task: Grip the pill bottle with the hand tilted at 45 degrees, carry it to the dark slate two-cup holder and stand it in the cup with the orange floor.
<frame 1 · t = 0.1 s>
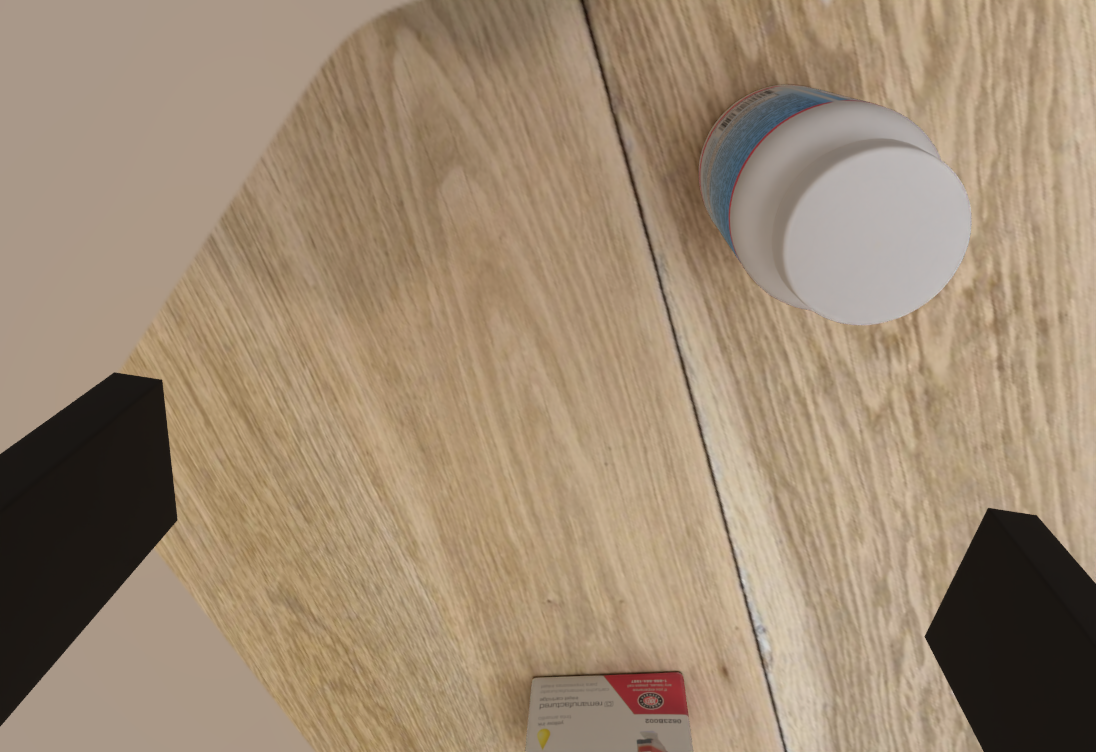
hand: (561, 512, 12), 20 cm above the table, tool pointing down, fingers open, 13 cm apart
pill bottle: (774, 165, 29), on the table
ink box: (609, 700, 42), on the table
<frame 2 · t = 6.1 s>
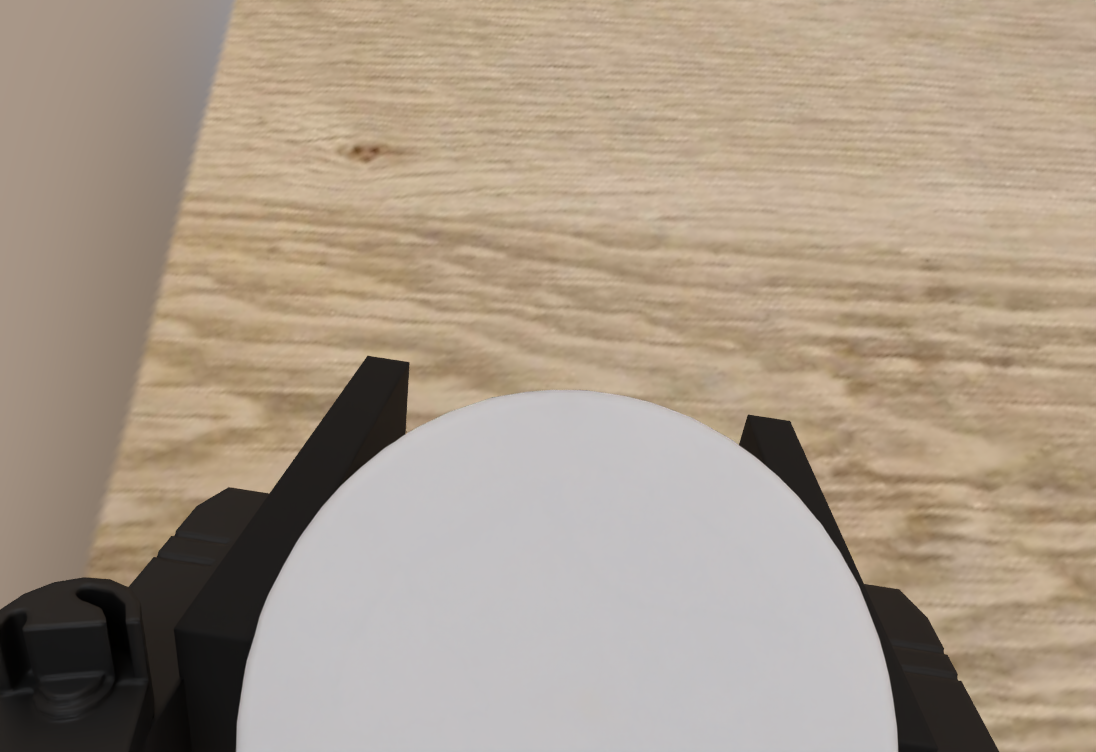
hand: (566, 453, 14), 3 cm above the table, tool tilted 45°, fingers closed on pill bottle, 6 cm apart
pill bottle: (532, 653, 16), on the table, touching gripper
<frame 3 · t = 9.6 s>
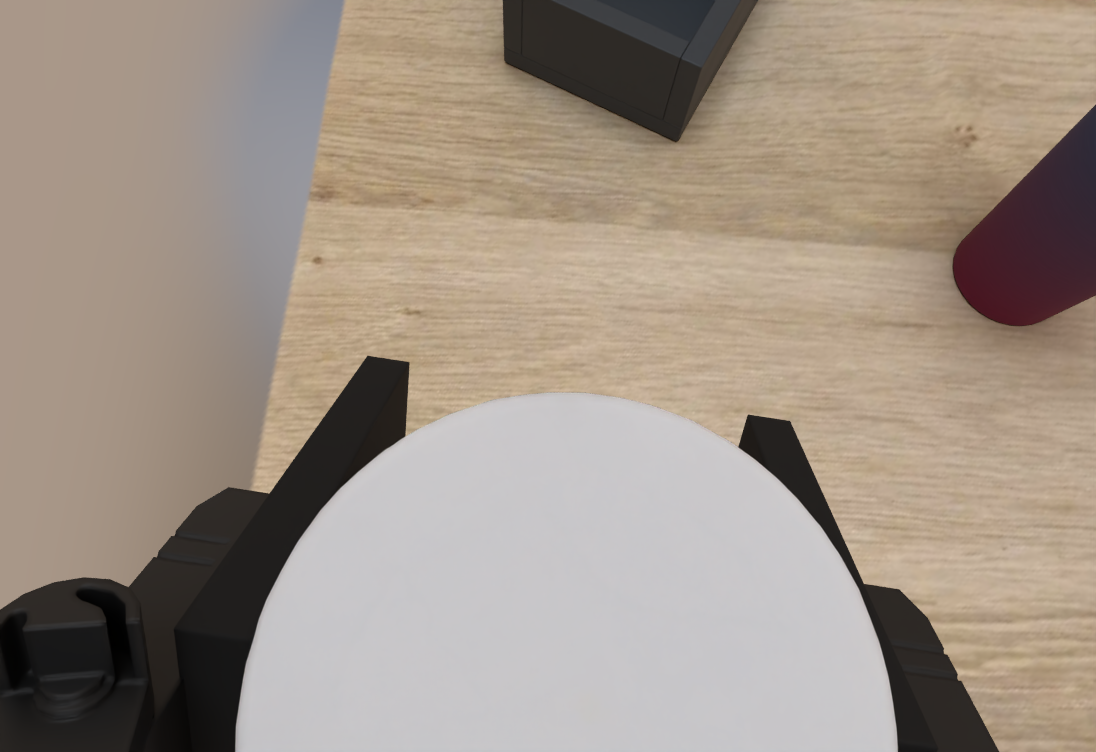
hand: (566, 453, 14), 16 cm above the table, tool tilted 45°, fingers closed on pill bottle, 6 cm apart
cup: (1004, 277, 34), on the table
pill bottle: (532, 654, 16), point 13 cm above the table, touching gripper
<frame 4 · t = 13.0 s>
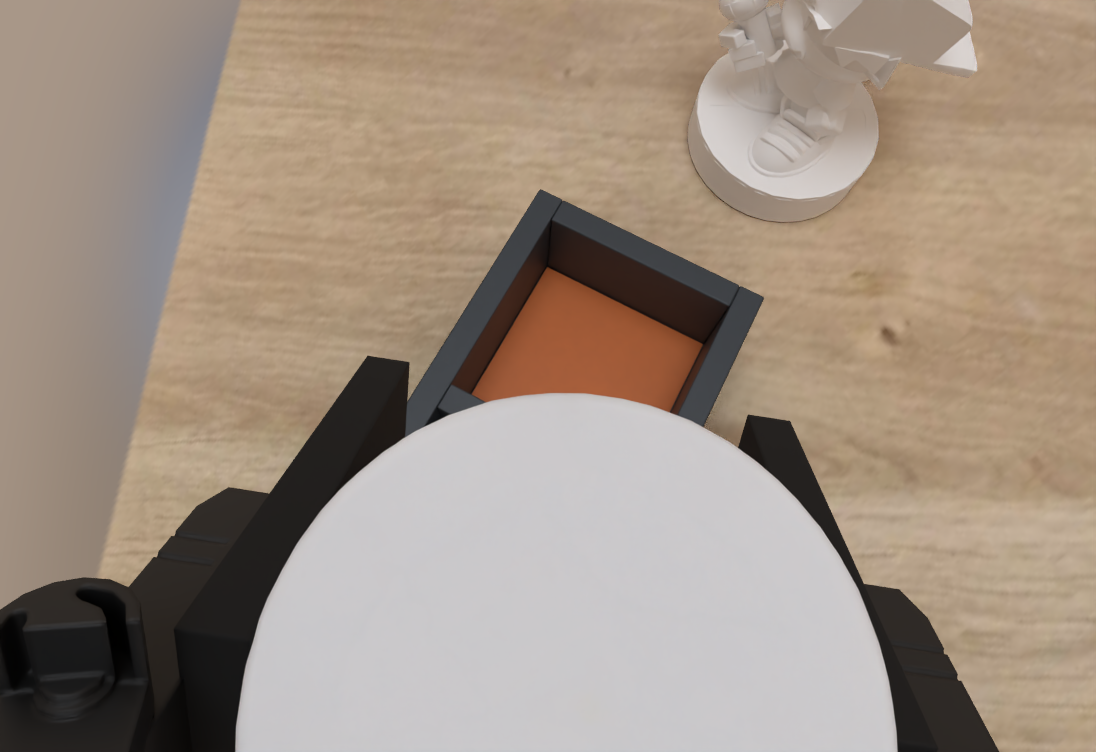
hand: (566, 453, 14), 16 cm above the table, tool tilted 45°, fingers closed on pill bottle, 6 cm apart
character figurine: (783, 145, 36), on the table
pill bottle: (532, 654, 16), point 13 cm above the table, touching gripper
holder: (534, 473, 30), on the table
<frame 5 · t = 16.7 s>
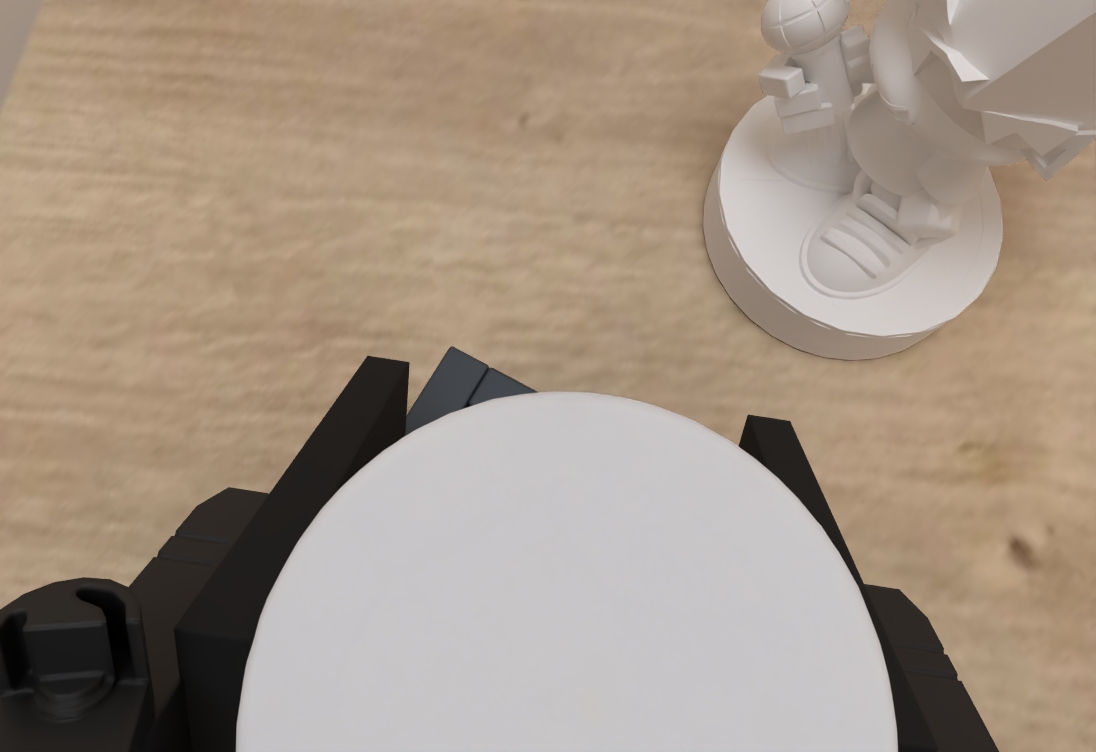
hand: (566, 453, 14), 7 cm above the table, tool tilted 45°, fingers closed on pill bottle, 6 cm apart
character figurine: (847, 234, 24), on the table
pill bottle: (532, 654, 16), point 3 cm above the table, touching gripper
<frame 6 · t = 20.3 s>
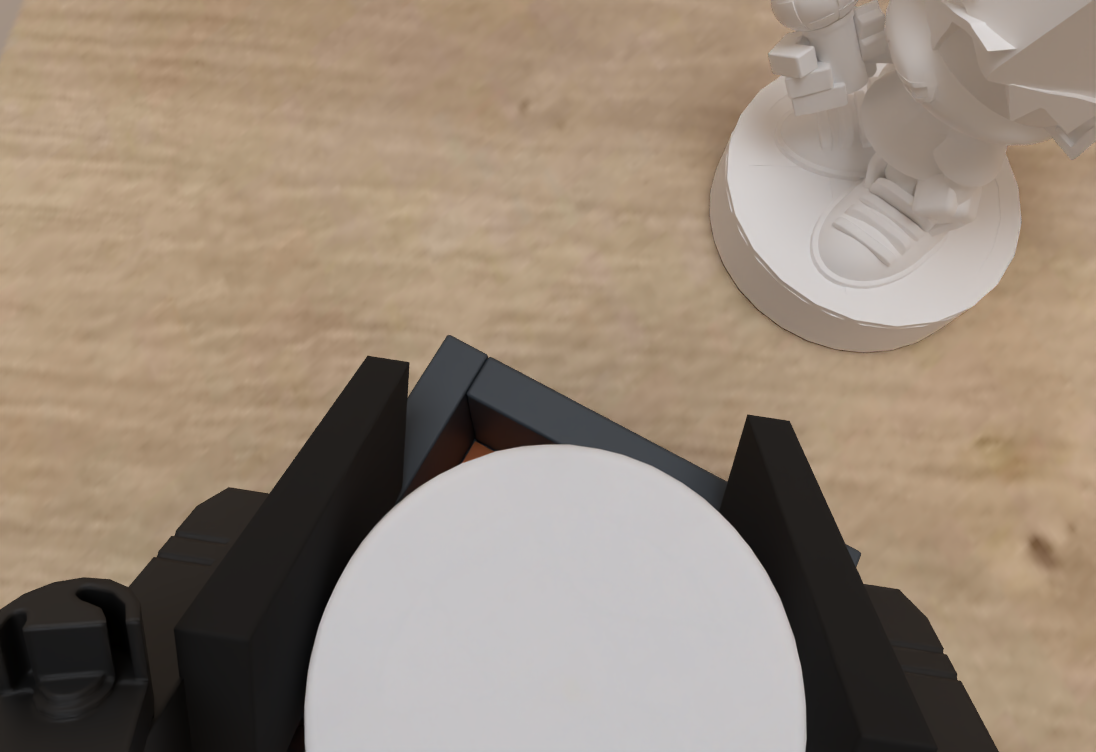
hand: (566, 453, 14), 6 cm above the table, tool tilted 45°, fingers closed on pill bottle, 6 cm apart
character figurine: (858, 223, 23), on the table
pill bottle: (530, 652, 17), point 1 cm above the table, touching gripper, holder
when the fingers open (6 cm above the table, at t = 20.4 s): pill bottle stays where it is, resting on holder.
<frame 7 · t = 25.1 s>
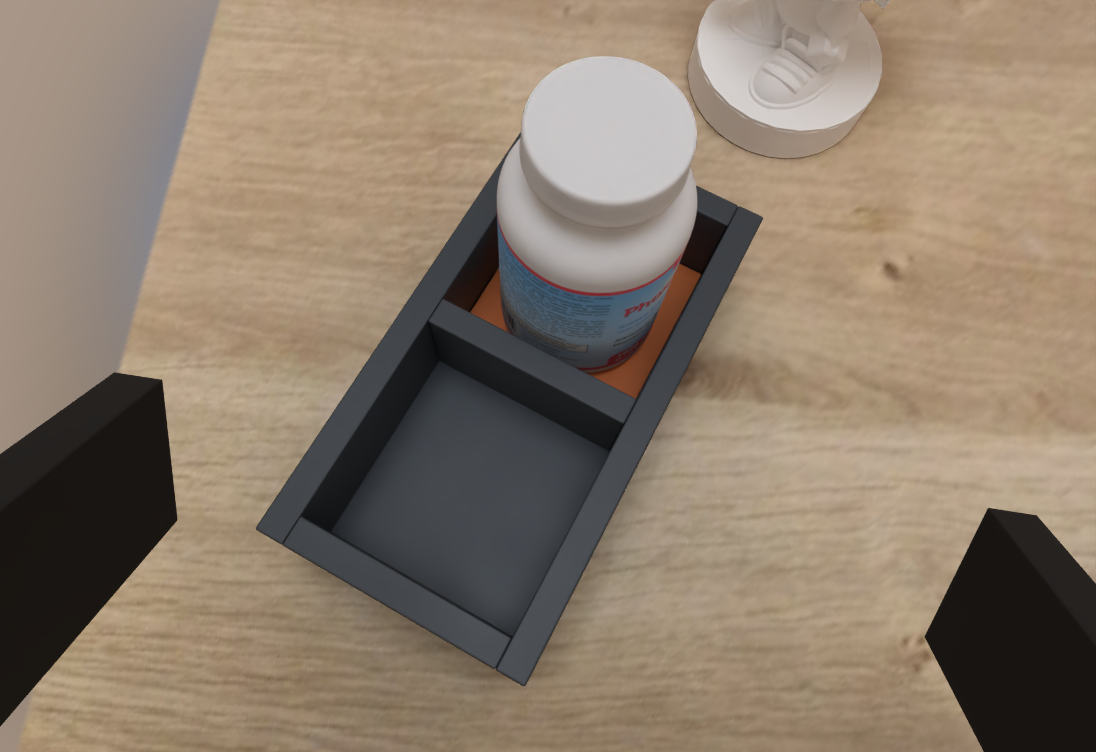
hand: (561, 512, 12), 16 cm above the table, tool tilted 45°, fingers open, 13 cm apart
character figurine: (785, 83, 35), on the table
pill bottle: (577, 308, 30), point 1 cm above the table, touching holder
holder: (529, 402, 29), on the table
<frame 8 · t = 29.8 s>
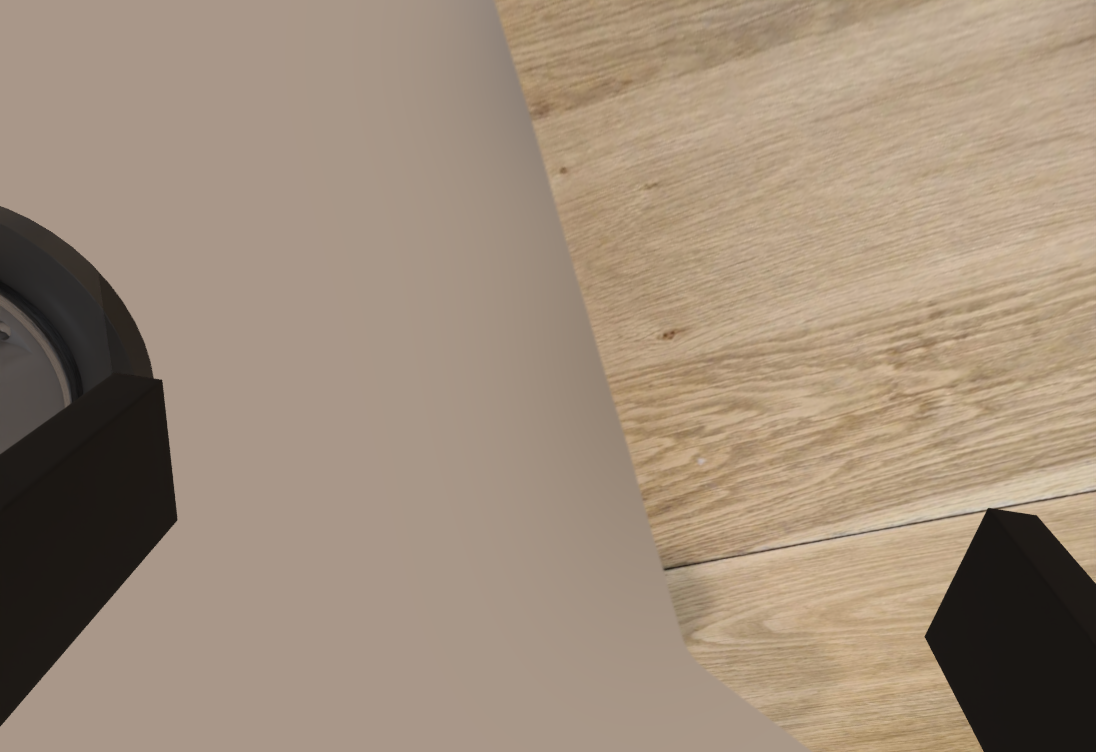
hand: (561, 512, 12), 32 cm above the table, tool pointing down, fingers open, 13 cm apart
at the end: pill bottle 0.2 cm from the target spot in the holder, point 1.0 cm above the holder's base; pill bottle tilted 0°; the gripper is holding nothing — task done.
